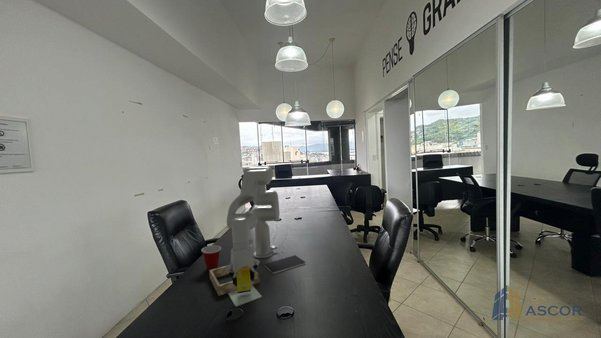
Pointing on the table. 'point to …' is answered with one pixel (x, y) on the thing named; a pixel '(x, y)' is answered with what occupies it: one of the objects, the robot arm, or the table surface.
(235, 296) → the mat
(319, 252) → the table surface
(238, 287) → the supplement box
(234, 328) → the table surface
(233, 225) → the robot arm
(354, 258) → the table surface
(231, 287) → the wooden frame
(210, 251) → the plastic cup
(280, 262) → the notebook
